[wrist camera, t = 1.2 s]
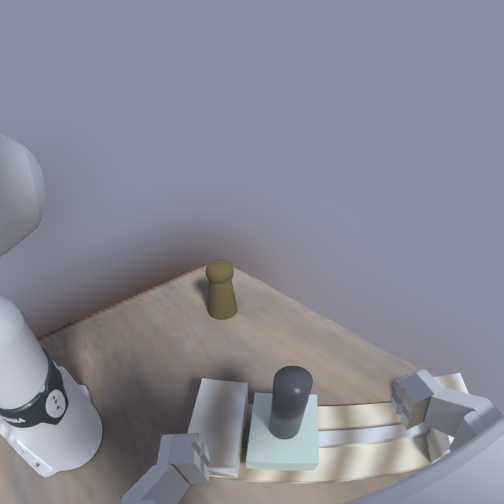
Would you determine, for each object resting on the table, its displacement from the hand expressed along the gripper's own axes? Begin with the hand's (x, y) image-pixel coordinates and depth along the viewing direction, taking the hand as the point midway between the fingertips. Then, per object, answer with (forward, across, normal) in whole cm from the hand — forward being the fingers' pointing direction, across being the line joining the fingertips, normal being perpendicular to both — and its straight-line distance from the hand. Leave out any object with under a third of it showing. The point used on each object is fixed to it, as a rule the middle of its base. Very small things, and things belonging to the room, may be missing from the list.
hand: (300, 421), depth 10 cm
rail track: (+14, -6, +26) cm, 30 cm away
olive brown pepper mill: (+46, +7, +17) cm, 49 cm away
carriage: (+15, +1, +23) cm, 28 cm away
